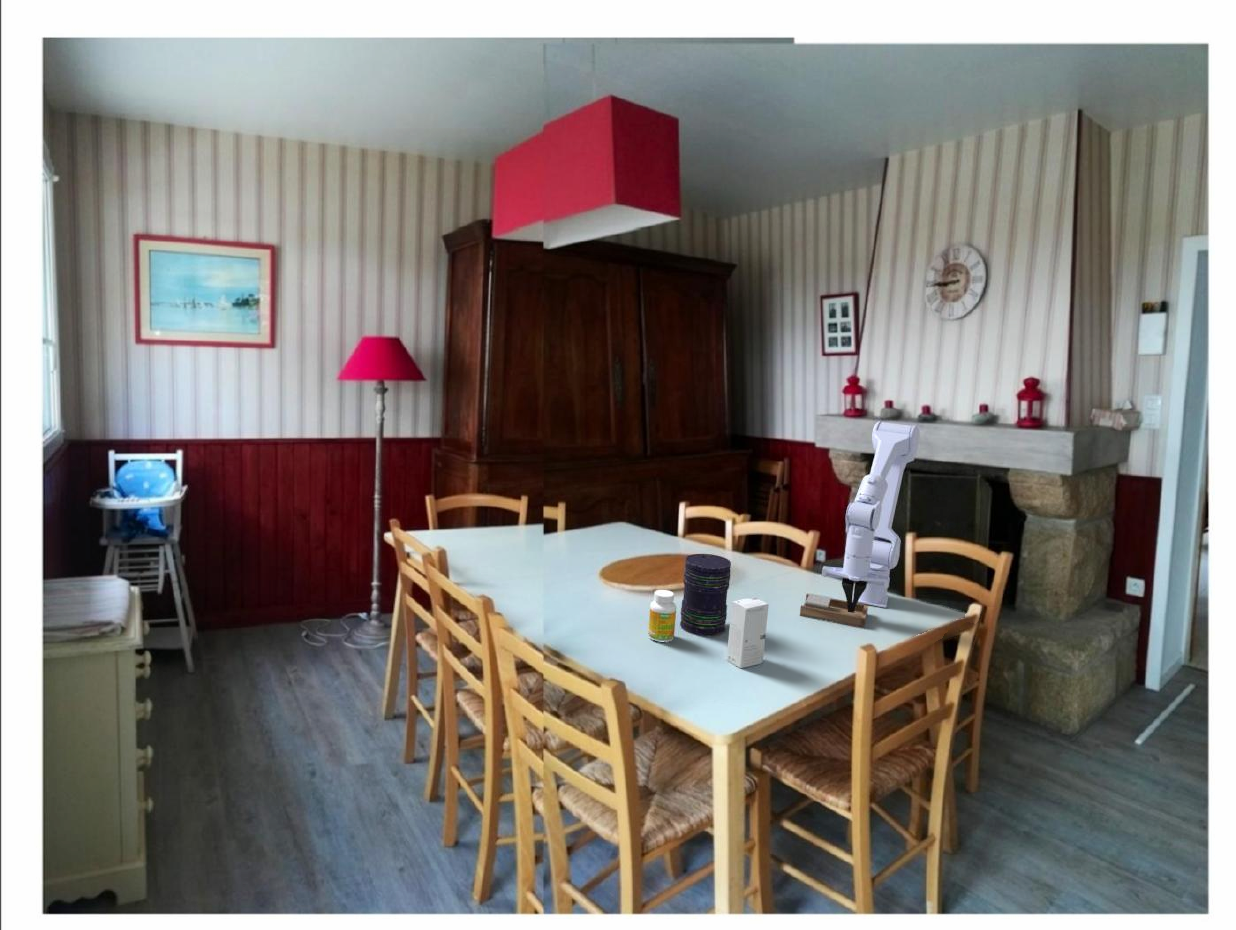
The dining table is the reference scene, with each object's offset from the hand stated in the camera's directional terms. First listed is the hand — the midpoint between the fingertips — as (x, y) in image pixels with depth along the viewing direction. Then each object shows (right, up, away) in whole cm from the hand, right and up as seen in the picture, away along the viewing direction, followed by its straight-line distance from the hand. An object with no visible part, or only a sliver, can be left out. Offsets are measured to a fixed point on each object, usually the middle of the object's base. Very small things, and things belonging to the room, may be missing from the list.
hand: (851, 611), depth 166 cm
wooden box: (-4, -1, +2) cm, 4 cm away
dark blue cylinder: (-35, -2, -10) cm, 37 cm away
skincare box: (-29, -5, -25) cm, 39 cm away
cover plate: (-7, 0, +3) cm, 7 cm away
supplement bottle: (-45, -2, -17) cm, 48 cm away
